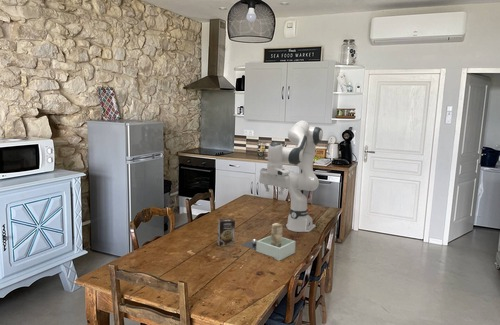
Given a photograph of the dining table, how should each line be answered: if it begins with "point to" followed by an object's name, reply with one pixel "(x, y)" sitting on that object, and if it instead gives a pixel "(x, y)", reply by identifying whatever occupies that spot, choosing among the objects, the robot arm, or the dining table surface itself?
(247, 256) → the dining table surface
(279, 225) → the strut
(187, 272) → the dining table surface
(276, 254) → the bin
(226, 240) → the coffee box
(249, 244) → the stud plate
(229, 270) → the dining table surface
